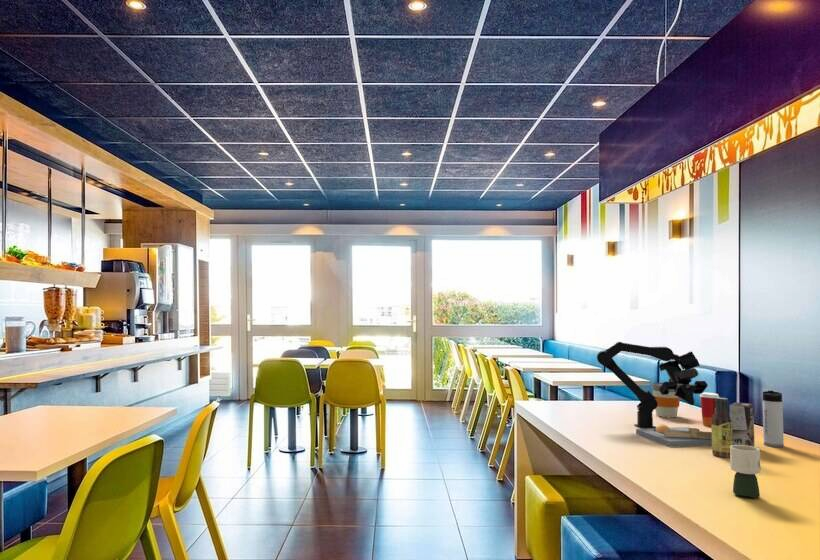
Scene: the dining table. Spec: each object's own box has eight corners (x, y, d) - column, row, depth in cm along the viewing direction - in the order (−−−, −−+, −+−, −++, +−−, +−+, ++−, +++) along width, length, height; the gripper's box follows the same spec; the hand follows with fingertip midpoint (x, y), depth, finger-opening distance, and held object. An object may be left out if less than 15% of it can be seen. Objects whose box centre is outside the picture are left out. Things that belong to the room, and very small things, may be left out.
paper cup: (715, 424, 246) (714, 392, 246) (723, 427, 238) (722, 395, 239) (697, 423, 246) (696, 392, 247) (704, 427, 239) (703, 394, 240)
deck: (636, 433, 226) (636, 428, 226) (688, 431, 230) (688, 427, 230) (669, 446, 204) (669, 441, 205) (726, 444, 209) (726, 439, 209)
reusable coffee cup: (679, 419, 255) (678, 386, 256) (650, 416, 262) (649, 384, 263) (682, 415, 266) (682, 383, 267) (654, 412, 273) (654, 381, 273)
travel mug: (781, 444, 209) (780, 391, 210) (785, 448, 203) (783, 393, 204) (762, 442, 212) (760, 389, 213) (765, 446, 206) (763, 392, 207)
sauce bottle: (725, 459, 188) (723, 400, 189) (707, 454, 194) (706, 397, 195) (737, 456, 191) (735, 398, 192) (719, 452, 197) (718, 396, 198)
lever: (663, 434, 214) (662, 405, 214) (722, 437, 209) (722, 408, 210) (665, 436, 210) (665, 407, 211) (726, 439, 206) (725, 409, 206)
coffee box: (749, 452, 198) (748, 406, 198) (729, 449, 202) (728, 404, 203) (755, 447, 204) (754, 403, 205) (735, 444, 209) (734, 401, 209)
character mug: (769, 503, 145) (767, 453, 146) (739, 501, 146) (737, 452, 147) (752, 490, 156) (751, 443, 156) (725, 488, 157) (723, 442, 158)
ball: (658, 421, 220) (652, 432, 221) (669, 428, 217) (663, 439, 217) (662, 421, 224) (656, 432, 224) (674, 428, 220) (668, 439, 221)
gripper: (662, 362, 228) (679, 393, 217) (704, 361, 231) (723, 392, 219) (652, 378, 235) (668, 409, 224) (692, 378, 238) (710, 408, 227)
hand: (692, 404), depth 223 cm, fingers closed
